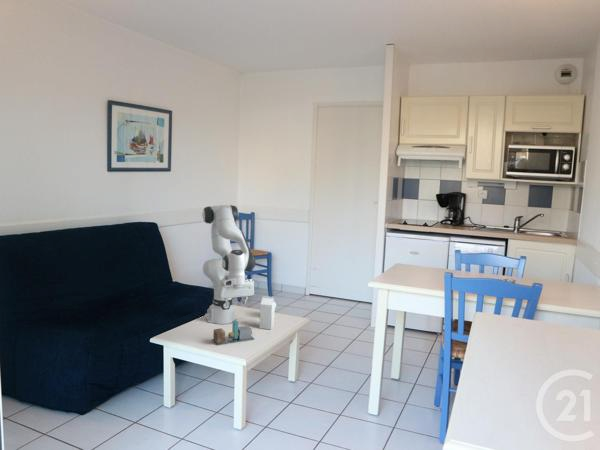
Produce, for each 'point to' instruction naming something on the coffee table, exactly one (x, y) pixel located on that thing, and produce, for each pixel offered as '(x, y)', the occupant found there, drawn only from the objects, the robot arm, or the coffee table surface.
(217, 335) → the socket
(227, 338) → the grey base plate
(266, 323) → the milk carton
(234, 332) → the rod
